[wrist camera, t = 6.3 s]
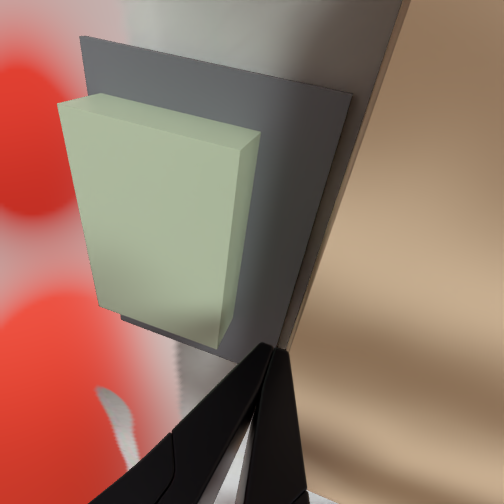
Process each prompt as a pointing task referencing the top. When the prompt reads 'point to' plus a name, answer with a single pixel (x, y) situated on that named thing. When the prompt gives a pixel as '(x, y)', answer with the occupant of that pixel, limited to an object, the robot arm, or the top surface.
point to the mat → (266, 172)
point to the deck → (413, 278)
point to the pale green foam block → (161, 210)
